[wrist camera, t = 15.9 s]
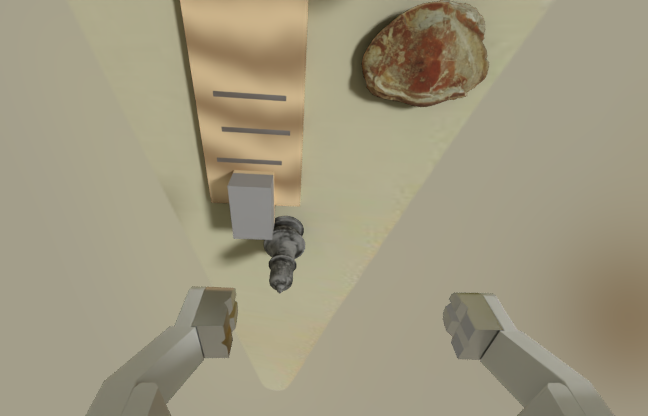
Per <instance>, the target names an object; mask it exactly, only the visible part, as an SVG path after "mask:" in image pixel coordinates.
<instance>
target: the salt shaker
mask: <svg viewBox="0 0 648 416" xmlns="http://www.w3.org/2000/svg"><path fill="white" fill-rule="evenodd" d="M303 233H304V228H303V225H302V224H301V222H300V221H299V220H297V219H296V218H294V217H290V216H281V217H277V218H275V224H274V230H273V237H272V240H264V249H265V251H266V252H267V253H268V255H270V256H271V257H272V258H271V260H270V261H269V268H270V269H271V272H270V279H269V282H270V286H271V287H272V288H273V289H275V290H277V291H278V293H281V292H282V291H284V290H287V289H288V288H290V287H291V285H292V281H293V271H294V270H295V269H296V262H295V260H294V259H296V258H298V257H299V256H301V255H302V253H303V252H304V250H305V241H304V239H303V238H302V235H303Z"/></svg>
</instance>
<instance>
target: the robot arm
mask: <svg viewBox="0 0 648 416" xmlns="http://www.w3.org/2000/svg"><path fill="white" fill-rule="evenodd" d="M235 298H236V290H235V288H221V287H195V286H192V287H191V289H190V290H189V291H188V294H187V296H186V299H185V301H184V304H183V306H182V308H181V311H180V313H179V316H178V318H177V320H176V323H175V325H174V326H170V327H168V328H167V329H166V330H165V331H164V332H163V333H161V334H160V335H159V336H158V337H157V338H155V339H154V340H153V341H152V342H151V343H149V344H148V345H147V346H146V347H144V348H143V349H142V350H141V351H140V352H138V353H137V354H136V355H135V356H134V357H132V358H131V359H130V360H129V361H128V362H127V363H125V364H124V365H123V366H122V367H120V368H119V369H118V370H117V371H116V372H114V374H112V375H111V376H110V377H108V378H107V379H106V380H105V381H104V382H103V384H102V386H101V388H100V390H99V391H98V393H97V395H96V397H95V399H94V401H93V403H92V405H91V406H90V408H89V410H88V412H87V414H86V416H171V414H170V412H169V410H168V408H167V405H166V404H167V403H168V401H169V400H170V399H171V398H172V397H173V396H174V394H175V393H176V392H177V391H178V390H179V389H180V387H181V386H182V385H183V384H184V383H185V381H186V380H187V379H188V378H189V377H190V375H191V374H192V373H193V372H194V371H195V370H196V369H197V367H198V366H199V365H200V364H201V363H202V361H203V360H204V358H229V355H230V350H231V345H232V341H233V338H232V331H233V330H234V329H235V328H236V323H237V316H238V304H237V302H236V301H235ZM449 300H450V302H451V303H450V304H449V305H447V306H446V307H445V309H444V312H443V321H444V326H445V328H446V331H447V332H448V333H449V334H450V335H451V336H452V337H453V338H452V341H451V343H452V346H453V348H454V351H455V353H456V355H457V358H458V359H472V360H480V362H482V364H483V365H484V366H485V367H486V368H487V369H488V370H489V371H490V372H491V373H492V374H493V375H494V376H495V377H496V378H497V379H498V380H499V381H500V383H501V384H502V385H503V386H504V387H505V388H506V389H507V390H508V391H509V392H510V393H511V394H512V395H513V396H514V397H515V398H516V399H517V400H518V401H519V403H520V404H521V405H522V406H523V407H524V409H523V410H522V411H521V412H520V413H519V414H518V415H517V416H615V415H614V414H613V413H612V411H611V410H610V409H609V407H608V406H607V404H606V403H605V402H604V400H603V399H602V398H601V396H600V395H599V393H598V392H597V391H596V390H595V388H594V386H593V385H592V384H591V382H590V381H588V380H587V379H586V378H584V377H583V376H581V375H580V374H579V373H577V372H576V371H575V370H574V369H572V368H571V367H570V366H568V365H567V364H565V363H564V362H563V361H561V360H560V359H559V358H557V357H556V356H555V355H553V354H552V353H551V352H549V351H548V350H547V349H545V348H544V347H543V346H541V345H540V344H538V343H537V342H536V341H534V340H533V339H532V338H530V337H529V336H528V335H526V334H525V333H524V332H522V331H518V330H517V329H516V327H515V325H514V324H513V322H512V321H511V319H510V317H509V316H508V314H507V313H506V311H505V309H504V308H503V307H502V305H501V303H500V301H499V300H498V298H497V297H496V295H494V294H493V293H453V294H451V296H450V298H449Z"/></svg>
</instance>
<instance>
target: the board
mask: <svg viewBox="0 0 648 416" xmlns="http://www.w3.org/2000/svg"><path fill="white" fill-rule="evenodd" d="M180 4H181V10H182V17H183V23H184V29H185V36H186V42H187V49H188V55H189V62H190V68H191V74H192V81H193V87H194V94H195V100H196V107H197V113H198V120H199V126H200V132H201V139H202V145H203V152H204V158H205V165H206V171H207V178H208V184H209V190H210V197H211V203H229V195H228V187H227V186H228V184H229V181H230V179H231V177H232V174H233V172H234V170H246V171H266V172H274V200H275V205H279V206H300V194H301V169H302V144H303V120H304V95H305V71H306V46H307V21H308V0H180Z"/></svg>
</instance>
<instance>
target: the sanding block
mask: <svg viewBox="0 0 648 416" xmlns="http://www.w3.org/2000/svg"><path fill="white" fill-rule="evenodd" d="M227 187H228V195H229V204H230V212H231V221H232V229H233V238H234V239H262V240H272V237H273V230H274V224H275V200H274V172H266V171H246V170H234V172H233V174H232V177H231V179H230V181H229V184H228V186H227Z"/></svg>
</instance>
